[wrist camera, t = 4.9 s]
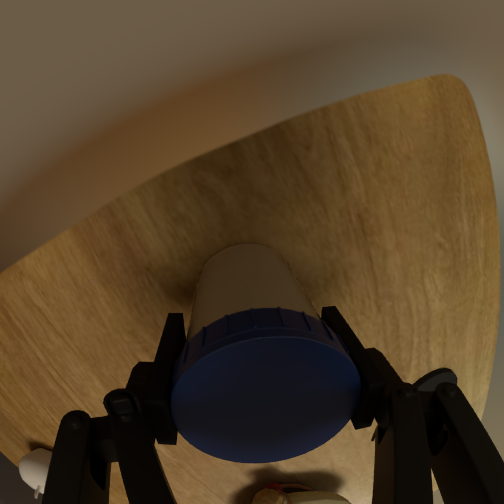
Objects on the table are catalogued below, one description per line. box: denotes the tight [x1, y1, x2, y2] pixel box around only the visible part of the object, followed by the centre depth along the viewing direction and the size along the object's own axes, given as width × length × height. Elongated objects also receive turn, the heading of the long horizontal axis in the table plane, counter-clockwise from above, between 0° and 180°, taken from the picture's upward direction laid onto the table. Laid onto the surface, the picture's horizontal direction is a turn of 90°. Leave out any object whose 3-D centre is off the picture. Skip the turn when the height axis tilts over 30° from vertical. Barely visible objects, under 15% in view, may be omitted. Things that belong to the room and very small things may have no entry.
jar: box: [186, 244, 322, 342], centre depth 16 cm, size 7×7×11 cm
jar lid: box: [170, 307, 361, 463], centre depth 11 cm, size 8×8×2 cm
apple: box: [19, 448, 52, 499], centre depth 23 cm, size 7×7×8 cm
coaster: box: [414, 368, 457, 391], centre depth 27 cm, size 8×8×1 cm
